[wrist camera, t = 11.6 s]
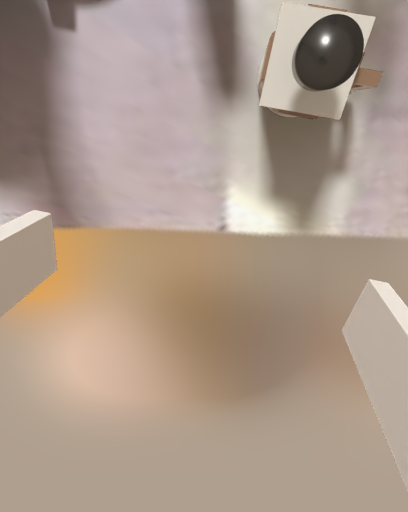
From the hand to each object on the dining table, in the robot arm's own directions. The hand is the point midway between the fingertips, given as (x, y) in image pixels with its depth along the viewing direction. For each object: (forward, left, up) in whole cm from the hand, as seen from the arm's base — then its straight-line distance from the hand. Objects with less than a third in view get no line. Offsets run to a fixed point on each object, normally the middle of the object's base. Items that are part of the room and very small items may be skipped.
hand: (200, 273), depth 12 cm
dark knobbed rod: (+6, +11, -36) cm, 38 cm away
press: (+7, +11, -39) cm, 41 cm away
